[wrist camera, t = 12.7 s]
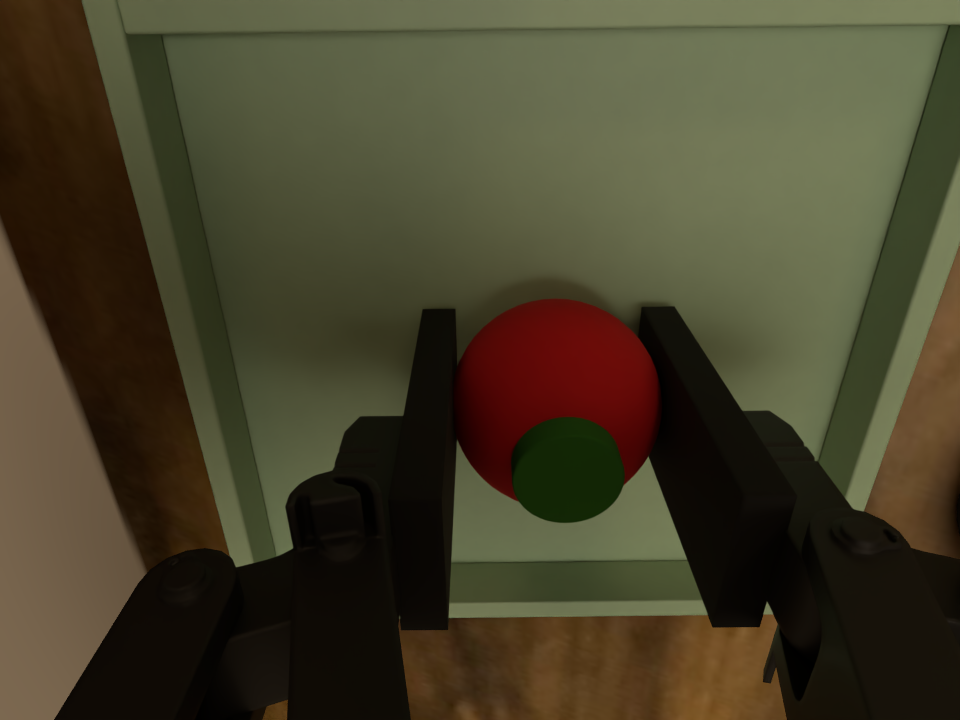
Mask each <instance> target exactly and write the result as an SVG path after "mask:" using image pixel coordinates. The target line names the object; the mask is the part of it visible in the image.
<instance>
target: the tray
mask: <svg viewBox="0 0 960 720" xmlns="http://www.w3.org/2000/svg"><path fill="white" fill-rule="evenodd" d="M82 4H83V8H84V12H85V15H86V19H87V23H88V27H89V30H90V34H91V38H92V42H93V45H94V49H95V53H96V57H97V60H98V64H99V68H100V72H101V75H102V79H103V83H104V86H105V90H106V94H107V98H108V101H109V105H110V109H111V113H112V116H113V120H114V124H115V128H116V131H117V135H118V139H119V143H120V146H121V150H122V154H123V158H124V161H125V165H126V169H127V173H128V176H129V180H130V184H131V188H132V191H133V195H134V199H135V202H136V206H137V210H138V214H139V217H140V221H141V225H142V229H143V232H144V236H145V240H146V244H147V247H148V251H149V255H150V259H151V262H152V266H153V270H154V274H155V277H156V281H157V285H158V289H159V292H160V296H161V300H162V304H163V307H164V311H165V315H166V318H167V322H168V326H169V330H170V333H171V337H172V341H173V345H174V348H175V352H176V356H177V360H178V363H179V367H180V371H181V375H182V378H183V382H184V386H185V390H186V393H187V397H188V401H189V405H190V408H191V412H192V416H193V420H194V423H195V427H196V431H197V434H198V438H199V442H200V446H201V449H202V453H203V457H204V461H205V464H206V468H207V472H208V476H209V479H210V483H211V487H212V491H213V494H214V498H215V502H216V506H217V509H218V513H219V517H220V521H221V524H222V528H223V532H224V536H225V539H226V543H227V547H228V550H229V554H230V557H231V558H232V559H233V561H234V564H235V566H236V567H240V566H244V565H248V564H252V563H255V562H259V561H263V560H267V559H270V558H273V557H276V556H279V555H282V554H283V553H285V552H287V551H289V550H291V549H293V544H292V539H291V534H290V529H289V524H288V519H287V514H286V509H285V505H286V503H287V500H288V497H289V494H290V493H291V492H292V491H293V490H294V489H295V488H296V487H297V486H298V485H299V484H300V483H302V482H303V481H305V480H307V479H309V478H311V477H313V476H314V475H317V474H321V473H325V472H329V471H332V470H333V468H334V466H335V465H334V464H335V461H336V457H337V454H338V453H339V448H340V445H341V441H342V438H343V435H344V432H345V431H346V430H347V429H348V428H349V427H350V426H351V425H352V424H353V423H354V422H355V421H356V420H357V419H358V418H359V417H360V416H403V414H404V409H405V403H406V398H407V392H408V387H409V381H410V376H411V370H412V365H413V359H414V354H415V348H416V343H417V337H418V332H419V326H420V321H421V315H422V310H423V309H456V340H457V366H458V363H459V361H460V359H461V357H462V355H463V354H464V352H465V350H466V348H467V346H468V345H469V343H470V342H471V341H472V339H473V338H474V337H475V336H476V334H477V333H478V332H479V331H480V330H481V329H482V328H483V327H484V326H485V325H487V324H488V323H489V322H490V321H492V320H493V319H494V318H495V317H497V316H498V315H500V314H502V313H503V312H505V311H507V310H509V309H511V308H513V307H515V306H518V305H521V304H524V303H527V302H531V301H536V300H541V299H570V300H575V301H581V302H584V303H587V304H590V305H593V306H596V307H598V308H600V309H602V310H604V311H606V312H608V313H610V314H611V315H613V316H615V317H616V318H618V319H619V320H620V321H621V322H622V323H624V324H625V325H626V326H627V327H628V328H629V329H631V330H632V331H633V332H634V334H635V335H636V336H637V337H638V333H639V324H640V316H641V308H642V307H661V306H675V308H676V309H677V311H678V312H679V314H680V315H681V317H682V319H683V320H684V322H685V323H686V325H687V326H688V328H689V329H690V331H691V332H692V334H693V336H694V337H695V339H696V340H697V342H698V343H699V345H700V346H701V348H702V349H703V351H704V352H705V354H706V356H707V357H708V359H709V360H710V362H711V363H712V365H713V366H714V368H715V369H716V371H717V372H718V374H719V376H720V377H721V379H722V380H723V382H724V383H725V385H726V386H727V388H728V389H729V391H730V393H731V394H732V396H733V397H734V399H735V400H736V402H737V403H738V405H739V406H740V408H741V409H742V411H764V410H769V411H771V412H772V413H774V414H775V415H777V416H778V417H779V418H781V419H782V420H784V421H785V422H787V423H788V424H790V425H791V426H792V427H793V429H794V430H795V431H796V433H797V434H798V435H799V437H800V438H801V439H802V441H803V442H804V446H805V447H807V448H808V449H809V450H810V452H811V453H812V454H813V456H814V457H815V461H818V462H819V464H820V465H821V466H822V468H823V469H824V470H825V472H826V473H827V474H828V476H829V477H830V478H831V480H832V481H833V483H834V484H835V485H836V487H837V488H838V489H839V491H840V492H841V493H842V495H843V496H844V497H845V499H846V500H847V501H848V503H849V504H850V505H851V507H852V508H853V509H855V510H859V511H863V512H864V509H865V506H866V503H867V500H868V498H869V495H870V492H871V489H872V487H873V484H874V481H875V478H876V475H877V473H878V470H879V467H880V464H881V461H882V459H883V456H884V453H885V450H886V448H887V445H888V442H889V439H890V436H891V434H892V431H893V428H894V425H895V422H896V420H897V417H898V414H899V411H900V409H901V406H902V403H903V400H904V397H905V395H906V392H907V389H908V386H909V383H910V381H911V378H912V375H913V372H914V369H915V367H916V364H917V361H918V358H919V356H920V353H921V350H922V347H923V344H924V342H925V339H926V336H927V333H928V330H929V328H930V325H931V322H932V319H933V317H934V314H935V311H936V308H937V305H938V303H939V300H940V297H941V294H942V291H943V289H944V286H945V283H946V280H947V278H948V275H949V272H950V269H951V266H952V264H953V261H954V258H955V255H956V252H957V250H958V247H959V244H960V0H82ZM763 614H773V613H772V610H771V608H770V606H769V604H768V602H767V603H766V607H765V610H764V613H763ZM658 615H708V614H707V611H706V608H705V606H704V603H703V600H702V598H701V595H700V592H699V590H698V587H697V585H696V582H695V579H694V577H693V574H692V571H691V569H690V566H689V563H688V561H687V558H686V555H685V553H684V550H683V547H682V545H681V542H680V539H679V537H678V534H677V531H676V529H675V526H674V523H673V521H672V518H671V515H670V513H669V510H668V507H667V505H666V502H665V499H664V497H663V494H662V491H661V489H660V486H659V483H658V481H657V478H656V475H655V473H654V470H653V467H652V465H651V462H650V459H649V457H648V458H647V459H646V461H645V463H644V464H643V465H642V467H641V468H640V469H639V471H638V472H637V473H636V474H635V475H634V476H633V477H632V478H631V479H630V480H629V481H628V482H627V483H626V484H625V485H624V486H623V488H622V491H621V493H620V495H619V497H618V498H617V499H616V501H615V502H614V503H613V504H612V505H611V506H610V507H609V508H608V509H607V510H605V511H604V512H602V513H601V514H599V515H597V516H595V517H593V518H590V519H588V520H584V521H581V522H575V523H556V522H550V521H546V520H543V519H541V518H538V517H536V516H534V515H533V514H531V513H530V512H528V511H527V510H526V509H525V508H524V507H523V506H522V505H521V504H520V502H518V501H515V500H513V499H511V498H509V497H508V496H506V495H504V494H502V493H500V492H499V491H497V490H496V489H494V488H493V487H492V486H490V485H489V484H488V483H487V482H486V481H485V480H484V479H483V478H482V477H481V476H480V475H479V474H478V473H477V472H476V471H475V469H474V468H473V467H472V466H471V464H470V463H469V461H468V460H467V458H466V457H465V455H464V453H463V451H462V449H461V447H460V445H459V443H458V440H457V452H456V473H455V494H454V515H453V536H452V557H451V578H450V599H449V618H480V617H569V616H658ZM399 618H400V616H399Z"/></svg>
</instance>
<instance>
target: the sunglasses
mask: <svg viewBox="0 0 960 720" xmlns="http://www.w3.org/2000/svg"><path fill="white" fill-rule="evenodd" d="M957 524H958V530H959V534H960V495H959V498H958V503H957Z"/></svg>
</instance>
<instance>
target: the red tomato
mask: <svg viewBox="0 0 960 720" xmlns="http://www.w3.org/2000/svg"><path fill="white" fill-rule="evenodd" d="M453 411H454V430H455V433H456V437H457V440H458V443H459V445H460V447H461V449H462V451H463V453H464V455H465V457H466V458H467V460H468V461H469V463H470V464H471V466H472V467H473V468H474V469H475V471H476V472H477V473H478V474H479V475H480V476H481V477H482V478H483V479H484V480H485V481H486V482H487V483H488V484H489V485H490V486H492V487H493V488H494V489H496V490H497V491H499V492H500V493H502V494H504V495H506V496H508V497H509V498H511V499H513V500H515V501H518V502H520V504H521V505H522V506H523V507H524V508H525V509H526V510H527V511H528V512H530V513H531V514H533V515H534V516H536V517H538V518H541V519H543V520H546V521H550V522H556V523H575V522H581V521H584V520H588V519H590V518H593V517H595V516H597V515H599V514H601V513H602V512H604V511H605V510H607V509H608V508H609V507H610V506H611V505H612V504H613V503H614V502H615V501H616V499H617V498H618V497H619V495H620V493H621V491H622V488H623V486H624V485H625V484H626V483H627V482H628V481H629V480H630V479H631V478H632V477H633V476H634V475H635V474H636V473H637V472H638V471H639V469H640V468H641V467H642V465H643V464H644V463H645V461H646V459H647V458H648V456H649V454H650V452H651V450H652V448H653V446H654V443H655V441H656V438H657V436H658V431H659V427H660V422H661V415H662V397H661V386H660V382H659V378H658V374H657V371H656V368H655V366H654V363H653V361H652V359H651V356H650V355H649V353H648V352H647V350H646V348H645V347H644V345H643V344H642V342H641V341H640V339H639V338H638V337H637V336H636V335H635V334H634V332H633V331H632V330H631V329H629V328H628V327H627V326H626V325H625V324H624V323H622V322H621V321H620V320H619V319H618V318H616V317H615V316H613V315H611V314H610V313H608V312H606V311H604V310H602V309H600V308H598V307H596V306H593V305H590V304H587V303H584V302H581V301H575V300H570V299H541V300H536V301H531V302H527V303H524V304H521V305H518V306H515V307H513V308H511V309H509V310H507V311H505V312H503V313H502V314H500V315H498V316H497V317H495V318H494V319H493V320H492V321H490V322H489V323H488V324H487V325H485V326H484V327H483V328H482V329H481V330H480V331H479V332H478V333H477V334H476V336H475V337H474V338H473V339H472V341H471V342H470V343H469V345H468V346H467V348H466V350H465V352H464V354H463V355H462V357H461V359H460V361H459V363H458V366H457V369H456V372H455V375H454V388H453Z"/></svg>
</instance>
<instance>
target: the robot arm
mask: <svg viewBox="0 0 960 720" xmlns="http://www.w3.org/2000/svg"><path fill="white" fill-rule="evenodd" d="M638 338H639V339H640V341H641V342H642V344H643V345H644V347H645V348H646V350H647V352H648V353H649V355H650V356H651V359H652V361H653V363H654V366H655V368H656V371H657V374H658V378H659V382H660V386H661V397H662V415H661V422H660V427H659V431H658V436H657V438H656V441H655V443H654V446H653V448H652V450H651V452H650V454H649V456H648V457H649V459H650V462H651V465H652V467H653V470H654V473H655V475H656V478H657V481H658V483H659V486H660V489H661V491H662V494H663V497H664V499H665V502H666V505H667V507H668V510H669V513H670V515H671V518H672V521H673V523H674V526H675V529H676V531H677V534H678V537H679V539H680V542H681V545H682V547H683V550H684V553H685V555H686V558H687V561H688V563H689V566H690V569H691V571H692V574H693V577H694V579H695V582H696V585H697V587H698V590H699V592H700V595H701V598H702V600H703V603H704V606H705V608H706V611H707V614H708V616H709V619H710V622H711V624H712V627H760V624H761V620H762V617H763V613H764V610H765V607H766V603H767V602H768V604H769V606H770V608H771V610H772V613H773V615H774V617H775V619H776V621H777V623H778V625H777V629H776V632H775V635H774V638H773V642H772V645H771V648H770V651H769V655H768V658H767V661H766V664H765V667H764V675H763V682H765V683H771V680H772V677H773V674H774V671H775V668H777V673H778V678H779V683H780V687H781V692H782V697H783V702H784V707H785V712H786V717H787V720H960V559H956V558H952V557H947V556H942V555H938V554H933V553H928V552H923V551H920V550H916V549H913V548H911V547H910V545H909V544H908V542H907V541H906V540H905V539H904V537H903V536H902V535H901V533H900V532H899V531H898V530H896V529H895V528H893V527H892V526H891V525H889V524H888V523H887V522H885V521H884V520H882V519H880V518H877V517H875V516H873V515H871V514H869V513H866V512H863V511H859V510H855V509H853V508H852V507H851V505H850V504H849V503H848V501H847V500H846V499H845V497H844V496H843V495H842V493H841V492H840V491H839V489H838V488H837V487H836V485H835V484H834V483H833V481H832V480H831V478H830V477H829V476H828V474H827V473H826V472H825V470H824V469H823V468H822V466H821V465H820V464H819V462H818V461H815V457H814V456H813V454H812V453H811V452H810V450H809V449H808V448H807V447H805V446H804V442H803V441H802V439H801V438H800V437H799V435H798V434H797V433H796V431H795V430H794V429H793V427H792V426H791V425H790V424H788V423H787V422H785V421H784V420H782V419H781V418H779V417H778V416H777V415H775V414H774V413H772V412H771V411H769V410H764V411H742V409H741V408H740V406H739V405H738V403H737V402H736V400H735V399H734V397H733V396H732V394H731V393H730V391H729V389H728V388H727V386H726V385H725V383H724V382H723V380H722V379H721V377H720V376H719V374H718V372H717V371H716V369H715V368H714V366H713V365H712V363H711V362H710V360H709V359H708V357H707V356H706V354H705V352H704V351H703V349H702V348H701V346H700V345H699V343H698V342H697V340H696V339H695V337H694V336H693V334H692V332H691V331H690V329H689V328H688V326H687V325H686V323H685V322H684V320H683V319H682V317H681V315H680V314H679V312H678V311H677V309H676V308H675V306H661V307H642V308H641V316H640V324H639V333H638ZM456 369H457V340H456V309H423V310H422V315H421V321H420V326H419V332H418V337H417V343H416V348H415V354H414V359H413V365H412V370H411V376H410V381H409V387H408V392H407V398H406V403H405V409H404V414H403V416H360V417H359V418H358V419H357V420H356V421H355V422H354V423H353V424H352V425H351V426H350V427H349V428H348V429H347V430H346V431H345V432H344V435H343V438H342V441H341V445H340V448H339V453H338V454H337V457H336V461H335V464H334V465H335V466H334V468H333V470H332V471H329V472H325V473H321V474H317V475H314V476H313V477H311V478H309V479H307V480H305V481H303V482H302V483H300V484H299V485H298V486H297V487H296V488H295V489H294V490H293V491H292V492H291V493H290V494H289V497H288V500H287V503H286V505H285V509H286V514H287V519H288V524H289V529H290V534H291V539H292V544H293V549H291V550H289V551H287V552H285V553H283V554H282V555H279V556H276V557H273V558H270V559H267V560H263V561H259V562H255V563H252V564H248V565H244V566H240V567H236V566H235V564H234V561H233V559H232V558H231V557H229V556H228V555H226V554H225V553H223V552H222V551H218V550H212V549H206V548H204V549H196V550H188V551H184V552H182V553H179V554H177V555H174V556H171V557H169V558H167V559H165V560H164V561H162V562H161V563H159V564H158V565H156V566H155V567H153V568H152V569H150V570H149V572H148V573H147V574H146V575H145V576H144V577H143V579H142V580H141V581H140V582H139V583H138V585H137V586H136V588H135V589H134V591H133V593H132V594H131V596H130V598H129V599H128V601H127V603H126V604H125V606H124V607H123V609H122V611H121V612H120V614H119V615H118V617H117V619H116V620H115V622H114V623H113V625H112V627H111V628H110V630H109V632H108V633H107V635H106V636H105V638H104V640H103V641H102V643H101V645H100V646H99V648H98V650H97V651H96V653H95V654H94V656H93V658H92V659H91V661H90V662H89V664H88V666H87V667H86V669H85V670H84V672H83V674H82V675H81V677H80V679H79V680H78V682H77V683H76V685H75V687H74V689H73V690H72V692H71V693H70V695H69V696H68V698H67V700H66V701H65V703H64V705H63V706H62V708H61V710H60V711H59V713H58V714H57V716H56V717H55V719H54V720H262V719H263V716H264V713H265V710H266V707H267V706H269V705H272V704H275V703H278V702H281V701H284V700H288V712H287V720H411V718H410V711H409V703H408V696H407V688H406V681H405V673H404V666H403V658H402V651H401V643H400V636H399V628H398V624H399V616H400V624H401V630H448V620H449V599H450V578H451V557H452V536H453V515H454V494H455V473H456V452H457V437H456V433H455V430H454V411H453V388H454V375H455V372H456Z"/></svg>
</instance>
